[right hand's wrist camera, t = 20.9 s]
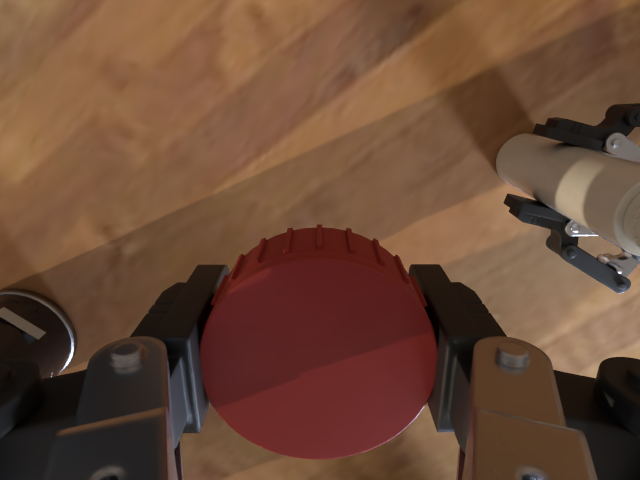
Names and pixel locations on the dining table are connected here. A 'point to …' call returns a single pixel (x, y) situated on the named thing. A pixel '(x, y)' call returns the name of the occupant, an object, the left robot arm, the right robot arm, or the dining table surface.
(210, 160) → the dining table surface
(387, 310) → the lid
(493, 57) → the dining table surface
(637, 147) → the left robot arm
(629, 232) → the jar
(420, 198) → the dining table surface
